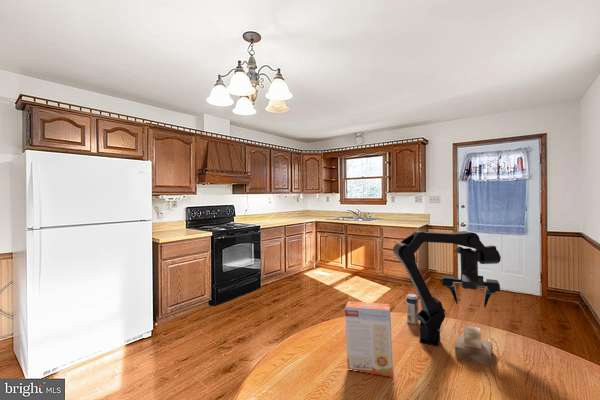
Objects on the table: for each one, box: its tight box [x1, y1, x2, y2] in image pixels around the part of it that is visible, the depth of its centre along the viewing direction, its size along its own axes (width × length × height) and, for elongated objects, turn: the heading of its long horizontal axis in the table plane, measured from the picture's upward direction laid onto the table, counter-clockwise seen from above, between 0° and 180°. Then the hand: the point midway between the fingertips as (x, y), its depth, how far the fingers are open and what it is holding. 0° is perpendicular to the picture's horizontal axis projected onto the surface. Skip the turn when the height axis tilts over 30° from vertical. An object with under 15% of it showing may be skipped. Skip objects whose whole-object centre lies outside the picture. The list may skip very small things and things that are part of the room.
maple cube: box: [463, 325, 482, 349], centre depth 99 cm, size 5×5×5 cm
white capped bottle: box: [405, 293, 420, 325], centre depth 126 cm, size 5×5×12 cm
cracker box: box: [344, 300, 394, 378], centre depth 93 cm, size 14×6×21 cm, turn 71°
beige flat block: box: [454, 334, 493, 367], centre depth 99 cm, size 10×10×4 cm
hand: (470, 305), depth 110 cm, fingers open, 9 cm apart
